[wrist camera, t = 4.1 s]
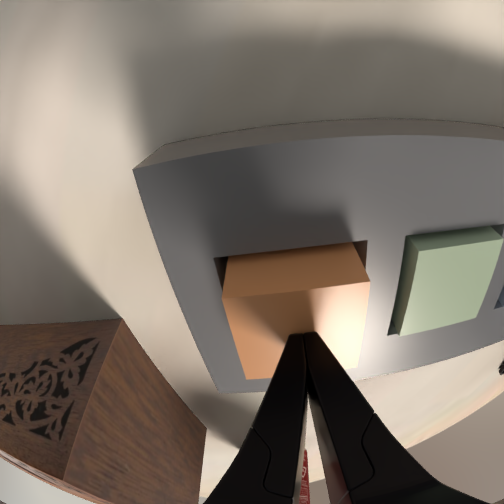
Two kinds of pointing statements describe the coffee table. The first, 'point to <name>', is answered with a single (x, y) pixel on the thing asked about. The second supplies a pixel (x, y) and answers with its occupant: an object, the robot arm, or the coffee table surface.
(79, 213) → the coffee table surface
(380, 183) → the button panel
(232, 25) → the coffee table surface
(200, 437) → the tissue box cover
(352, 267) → the orange button
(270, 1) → the coffee table surface
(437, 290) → the green button
